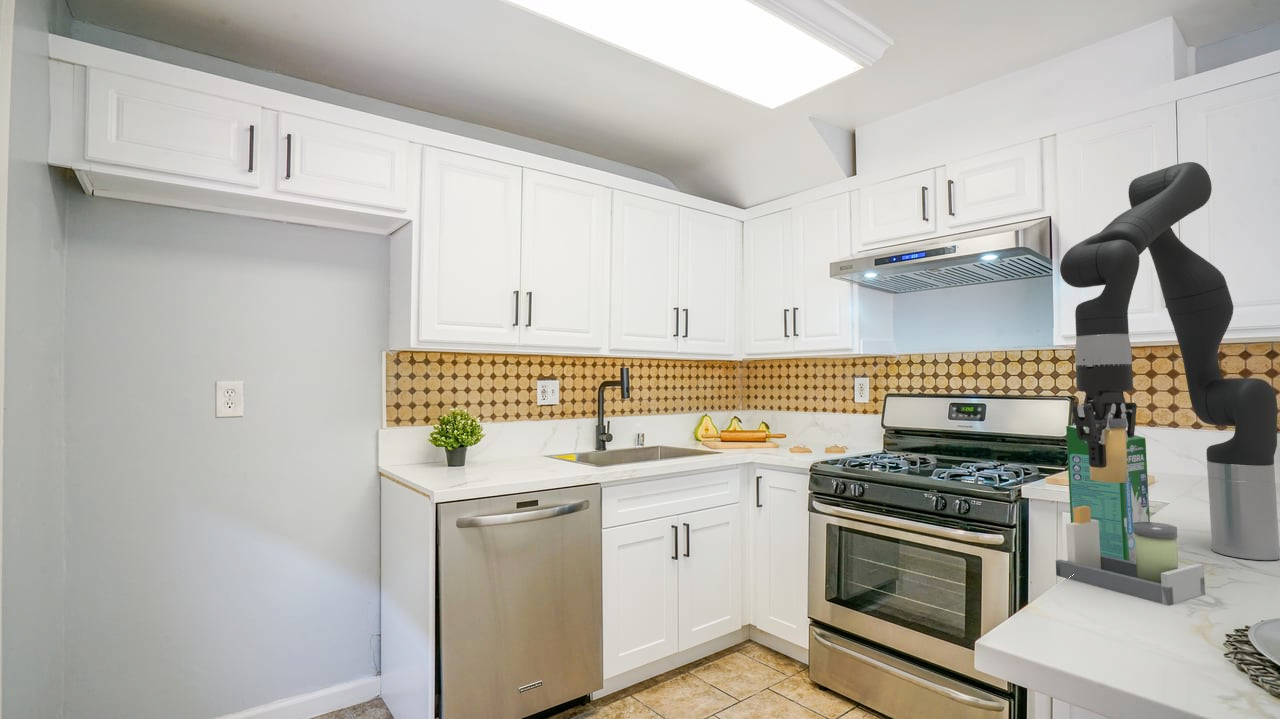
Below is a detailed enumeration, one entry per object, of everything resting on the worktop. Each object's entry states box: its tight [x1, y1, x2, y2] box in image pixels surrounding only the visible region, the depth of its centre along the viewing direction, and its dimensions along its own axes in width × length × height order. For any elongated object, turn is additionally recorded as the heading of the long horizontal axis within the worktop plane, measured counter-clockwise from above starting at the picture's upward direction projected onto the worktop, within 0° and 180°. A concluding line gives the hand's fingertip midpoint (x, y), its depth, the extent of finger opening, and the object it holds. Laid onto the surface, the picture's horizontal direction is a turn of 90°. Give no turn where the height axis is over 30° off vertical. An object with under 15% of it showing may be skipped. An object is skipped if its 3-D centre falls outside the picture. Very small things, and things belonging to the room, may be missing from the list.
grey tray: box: [1055, 554, 1206, 606], centre depth 100 cm, size 10×16×5 cm, turn 25°
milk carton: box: [1065, 424, 1151, 562], centre depth 117 cm, size 9×9×25 cm
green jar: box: [1133, 521, 1179, 584], centre depth 96 cm, size 5×5×10 cm
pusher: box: [1065, 506, 1101, 569], centre depth 106 cm, size 7×1×11 cm, turn 115°
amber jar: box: [1089, 418, 1128, 483], centre depth 102 cm, size 5×5×10 cm
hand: (1107, 465), depth 102 cm, fingers closed on amber jar, 5 cm apart
